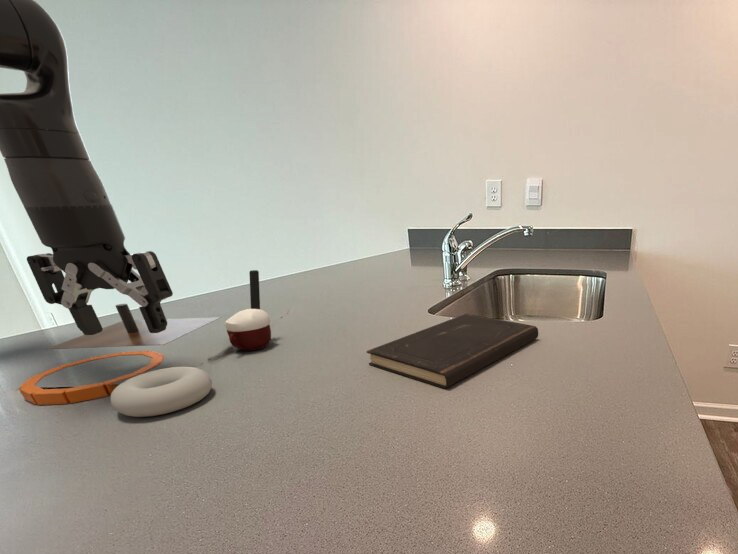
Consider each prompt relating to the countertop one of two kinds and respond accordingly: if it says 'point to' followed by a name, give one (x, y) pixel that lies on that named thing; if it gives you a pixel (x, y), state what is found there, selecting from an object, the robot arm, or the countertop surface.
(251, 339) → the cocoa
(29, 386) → the ring
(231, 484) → the countertop surface
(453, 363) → the hardcover book
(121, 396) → the donut
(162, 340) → the post board
